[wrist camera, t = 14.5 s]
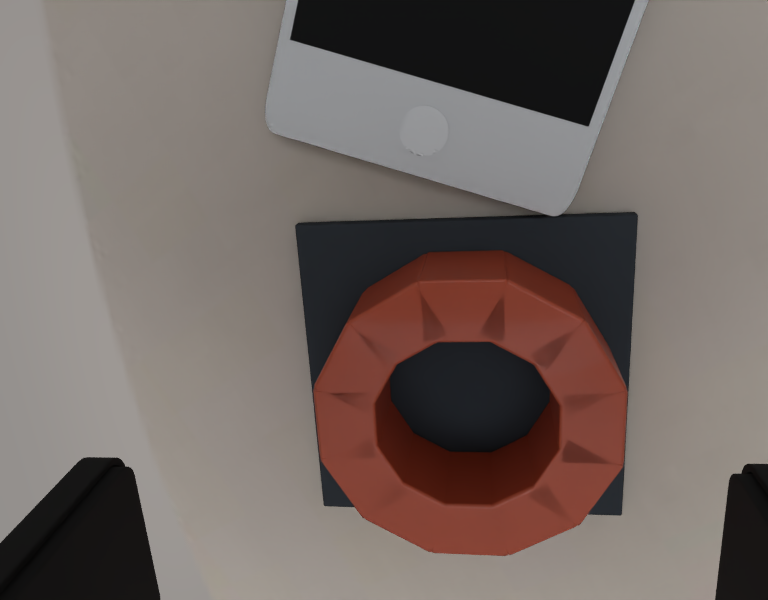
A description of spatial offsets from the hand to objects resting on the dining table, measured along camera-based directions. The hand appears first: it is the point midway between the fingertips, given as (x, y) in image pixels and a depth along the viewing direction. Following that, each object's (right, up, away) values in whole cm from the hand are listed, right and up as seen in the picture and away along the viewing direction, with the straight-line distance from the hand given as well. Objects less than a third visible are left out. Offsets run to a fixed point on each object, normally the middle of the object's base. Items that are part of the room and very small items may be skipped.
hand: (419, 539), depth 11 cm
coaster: (+2, +2, +7) cm, 7 cm away
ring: (+2, +2, +7) cm, 7 cm away
